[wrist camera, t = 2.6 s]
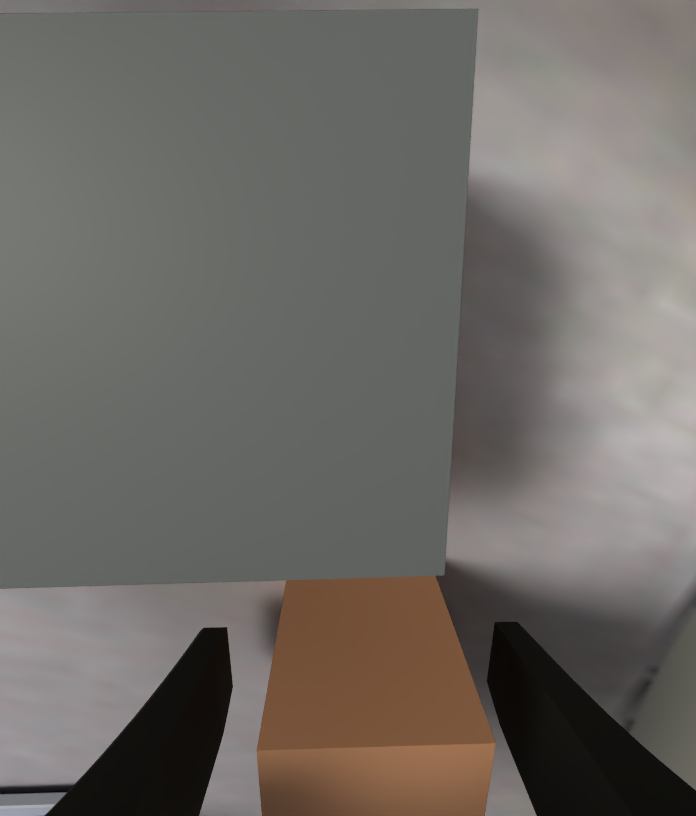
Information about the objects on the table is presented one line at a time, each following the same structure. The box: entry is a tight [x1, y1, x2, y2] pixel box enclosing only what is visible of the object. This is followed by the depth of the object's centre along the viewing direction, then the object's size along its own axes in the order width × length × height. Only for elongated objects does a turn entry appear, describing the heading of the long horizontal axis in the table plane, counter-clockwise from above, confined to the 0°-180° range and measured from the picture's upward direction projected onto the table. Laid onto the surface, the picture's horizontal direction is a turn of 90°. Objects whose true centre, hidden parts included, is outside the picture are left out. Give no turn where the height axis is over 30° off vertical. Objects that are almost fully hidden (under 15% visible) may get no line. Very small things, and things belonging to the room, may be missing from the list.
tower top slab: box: [0, 9, 478, 589], centre depth 6 cm, size 7×7×2 cm
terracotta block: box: [257, 576, 496, 816], centre depth 9 cm, size 4×4×5 cm
